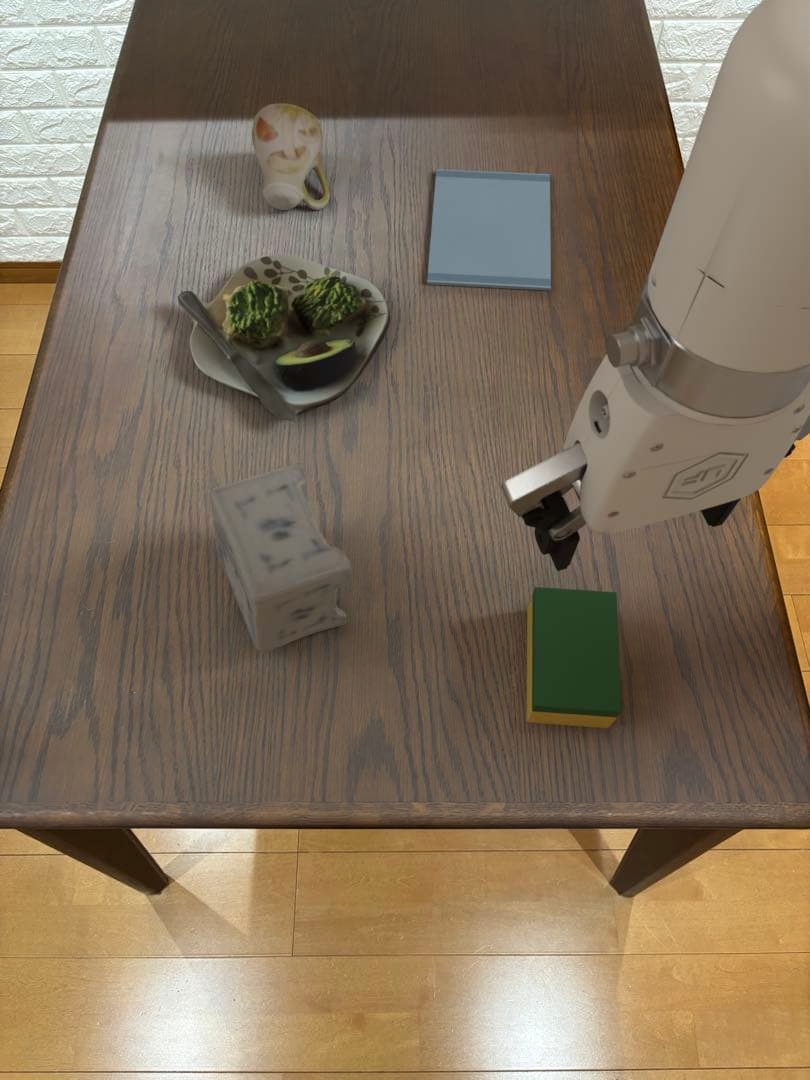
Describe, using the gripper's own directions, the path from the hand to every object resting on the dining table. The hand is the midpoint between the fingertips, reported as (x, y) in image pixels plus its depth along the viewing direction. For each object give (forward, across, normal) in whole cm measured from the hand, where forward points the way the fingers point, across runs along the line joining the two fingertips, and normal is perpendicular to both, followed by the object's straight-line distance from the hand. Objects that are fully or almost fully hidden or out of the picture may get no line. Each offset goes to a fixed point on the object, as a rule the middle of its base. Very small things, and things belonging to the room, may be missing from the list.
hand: (629, 526), depth 49 cm
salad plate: (+17, -14, +34) cm, 41 cm away
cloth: (+17, +8, +43) cm, 47 cm away
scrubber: (+17, -2, -3) cm, 17 cm away
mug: (+17, -10, +55) cm, 59 cm away
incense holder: (+17, -21, +10) cm, 29 cm away
